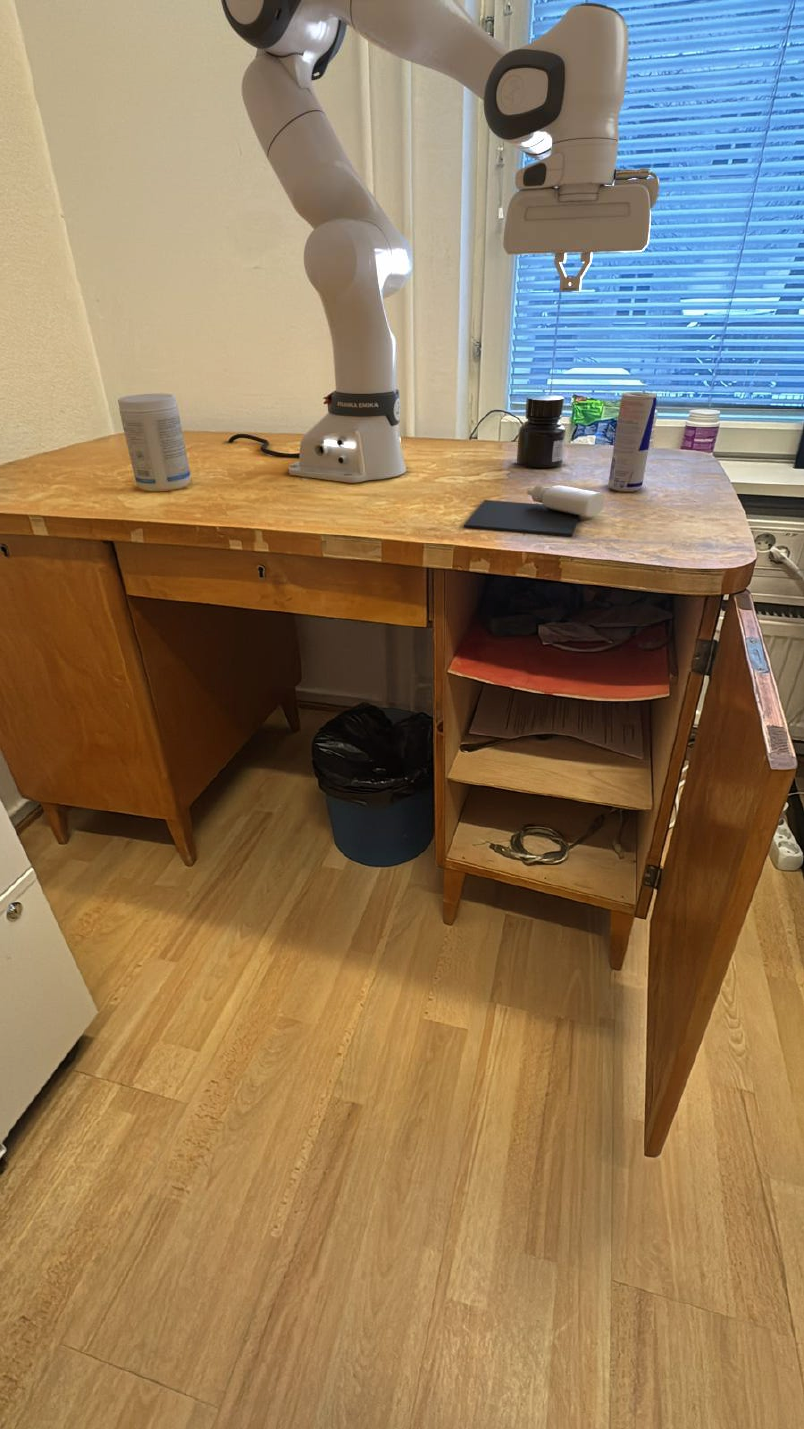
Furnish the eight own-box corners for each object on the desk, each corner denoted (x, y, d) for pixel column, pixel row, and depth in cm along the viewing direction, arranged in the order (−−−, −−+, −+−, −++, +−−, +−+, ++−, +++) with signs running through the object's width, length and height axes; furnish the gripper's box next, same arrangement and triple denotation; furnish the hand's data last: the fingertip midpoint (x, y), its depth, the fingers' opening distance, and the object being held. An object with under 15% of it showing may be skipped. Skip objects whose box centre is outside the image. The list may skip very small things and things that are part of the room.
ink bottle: (566, 469, 130) (574, 400, 124) (519, 470, 130) (525, 401, 124) (557, 458, 138) (564, 393, 132) (513, 458, 138) (518, 394, 132)
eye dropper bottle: (588, 529, 102) (521, 514, 109) (607, 504, 104) (540, 491, 111) (584, 506, 99) (516, 492, 106) (604, 481, 101) (535, 469, 108)
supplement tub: (189, 477, 128) (174, 391, 120) (194, 489, 121) (179, 398, 113) (135, 482, 125) (116, 395, 118) (137, 495, 118) (117, 402, 110)
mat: (463, 527, 100) (463, 524, 100) (484, 502, 111) (484, 500, 111) (571, 536, 96) (572, 533, 96) (582, 509, 107) (582, 507, 107)
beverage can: (643, 493, 115) (660, 396, 107) (608, 492, 116) (622, 395, 108) (640, 485, 119) (656, 391, 111) (606, 484, 120) (620, 390, 112)
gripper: (662, 170, 93) (644, 290, 100) (512, 178, 98) (506, 291, 106) (661, 163, 88) (643, 290, 95) (504, 173, 93) (498, 292, 101)
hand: (569, 291), depth 100 cm, fingers closed
